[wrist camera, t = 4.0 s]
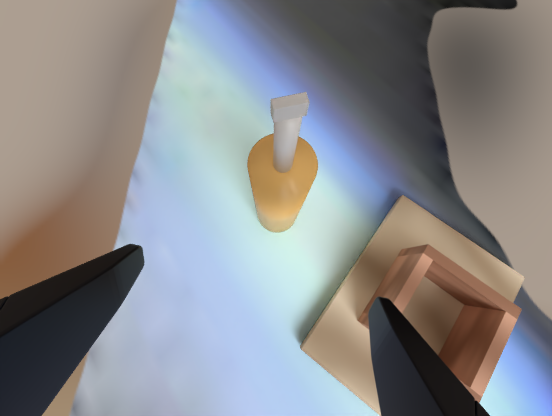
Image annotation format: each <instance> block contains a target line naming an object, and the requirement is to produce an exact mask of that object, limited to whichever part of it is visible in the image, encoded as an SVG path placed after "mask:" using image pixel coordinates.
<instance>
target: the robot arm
mask: <svg viewBox="0 0 552 416" xmlns="http://www.w3.org/2000/svg"><path fill="white" fill-rule="evenodd" d="M143 266H144V256H143V249H142V247H141V246H140V245H135V244H128V245H126V246H123V247H121V248H119V249H116V250H114V251H112V252H110V253H107V254H105V255H103V256H100V257H98V258H96V259H93V260H91V261H88V262H86V263H84V264H81V265H79V266H77V267H75V268H72V269H70V270H67V271H65V272H63V273H60V274H58V275H56V276H54V277H51V278H49V279H47V280H44V281H42V282H40V283H37V284H35V285H32V286H30V287H28V288H25V289H23V290H21V291H18V292H16V293H14V294H12V295H10V296H9V297H4V298H2V299H0V416H42V414H43V413H44V412H45V410H46V409H47V408H48V406H49V405H50V403H51V402H52V401H53V399H54V398H55V396H56V395H57V394H58V392H59V391H60V389H61V388H62V387H63V385H64V384H65V383H66V381H67V380H68V378H69V377H70V376H71V374H72V373H73V371H74V370H75V369H76V367H77V366H78V364H79V363H80V362H81V360H82V359H83V358H84V356H85V355H86V353H87V352H88V351H89V349H90V348H91V346H92V345H93V344H94V342H95V341H96V339H97V338H98V337H99V335H100V334H101V332H102V331H103V330H104V328H105V327H106V326H107V324H108V323H109V321H110V320H111V319H112V317H113V316H114V314H115V313H116V312H117V310H118V309H119V307H120V306H121V304H122V303H123V301H124V300H125V298H126V296H127V295H128V293H129V291H130V289H131V288H132V286H133V284H134V282H135V281H136V279H137V277H138V275H139V274H140V272H141V270H142V269H143ZM368 320H369V335H370V349H371V360H372V366H373V372H374V378H375V383H376V389H377V395H378V400H379V406H380V412H381V416H490V415H489V414H488V413H487V412H486V410H485V409H484V408H483V407H482V406H481V405H480V403H479V402H478V401H476V400H475V398H474V397H473V395H472V394H471V393H470V392H469V391H468V390H467V388H466V387H465V386H464V385H463V384H462V383H461V381H460V380H459V379H458V378H457V377H456V376H455V375H454V373H453V372H452V371H451V370H450V369H449V368H448V366H447V365H446V364H445V363H444V362H443V361H442V359H441V358H440V357H439V356H438V355H437V354H436V352H435V351H434V350H433V349H432V348H431V347H430V345H429V344H428V343H427V342H426V341H425V340H424V338H423V337H422V336H421V335H420V334H419V333H418V331H417V330H416V329H415V328H414V327H413V326H412V324H411V323H410V322H409V321H408V320H407V319H406V317H405V316H404V315H403V314H402V313H401V312H400V311H399V309H398V308H397V307H396V306H395V305H394V304H393V302H392V301H391V300H390V299H388V298H385V297H380V296H378V297H376V299H375V300H374V302H373V304H372V306H371V308H370V309H369V313H368Z"/></svg>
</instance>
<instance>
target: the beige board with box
mask: <svg viewBox="0 0 552 416" xmlns="http://www.w3.org/2000/svg"><path fill="white" fill-rule="evenodd" d="M523 280H524V277H523V276H522V275H521V274H519V273H518V272H516V271H515V270H513V269H512V268H510V267H509V266H507V265H506V264H504V263H503V262H501V261H500V260H498V259H497V258H495V257H494V256H492V255H491V254H489V253H488V252H486V251H485V250H484V249H482V248H481V247H479V246H478V245H476V244H475V243H473V242H472V241H470V240H469V239H467V238H466V237H464V236H463V235H461V234H460V233H458V232H457V231H455V230H454V229H452V228H451V227H450V226H448V225H447V224H445V223H444V222H442V221H441V220H439V219H438V218H436V217H435V216H433V215H432V214H430V213H429V212H427V211H426V210H424V209H423V208H421V207H420V206H418V205H417V204H416V203H414V202H413V201H411V200H410V199H408V198H407V197H405V196H404V195H402V196H400V197H399V198H398V199H397V201H396V202H395V204H394V205H393V207H392V208H391V210H390V211H389V213H388V214H387V216H386V217H385V219H384V220H383V222H382V223H381V225H380V226H379V228H378V229H377V231H376V232H375V234H374V235H373V237H372V238H371V240H370V241H369V243H368V244H367V246H366V247H365V249H364V250H363V252H362V253H361V255H360V256H359V258H358V259H357V261H356V262H355V264H354V265H353V267H352V269H351V270H350V272H349V273H348V275H347V276H346V278H345V279H344V281H343V282H342V284H341V285H340V287H339V288H338V290H337V291H336V293H335V294H334V296H333V297H332V299H331V300H330V302H329V303H328V305H327V306H326V308H325V309H324V311H323V312H322V314H321V315H320V317H319V318H318V320H317V321H316V323H315V324H314V326H313V327H312V329H311V330H310V332H309V333H308V335H307V336H306V338H305V339H304V341H303V342H302V344H301V345H300V348H301V350H302V351H304V352H305V353H306V354H307V355H308V356H310V357H311V358H312V359H313V360H314V361H316V362H317V363H318V364H319V365H320V366H322V367H323V368H324V369H325V370H326V371H328V372H329V373H330V374H331V375H332V376H334V377H335V378H336V379H337V380H338V381H339V382H341V383H342V384H343V385H344V386H345V387H347V388H348V389H349V390H350V391H351V392H353V393H354V394H355V395H356V396H357V397H359V398H360V399H361V400H362V401H363V402H365V403H366V404H367V405H368V406H369V407H371V408H372V409H373V410H374V411H375V412H377V413H378V414H379V415H380V416H381V412H380V406H379V400H378V395H377V389H376V383H375V378H374V372H373V366H372V360H371V349H370V335H369V320H368V313H369V309H370V308H371V306H372V304H373V302H374V300H375V299H376V297H378V296H380V297H385V298H388V299H390V300H391V301H392V302H393V304H394V305H395V306H396V307H397V308H398V309H399V311H400V312H401V313H402V314H403V315H404V316H405V317H406V319H407V320H408V321H409V322H410V323H411V324H412V326H413V327H414V328H415V329H416V330H417V331H418V333H419V334H420V335H421V336H422V337H423V338H424V340H425V341H426V342H427V343H428V344H429V345H430V347H431V348H432V349H433V350H434V351H435V352H436V354H437V355H438V356H439V357H440V358H441V359H442V361H443V362H444V363H445V364H446V365H447V366H448V368H449V369H450V370H451V371H452V372H453V373H454V375H455V376H456V377H457V378H458V379H459V380H460V381H461V383H462V384H463V385H464V386H465V387H466V388H467V390H468V391H469V392H470V393H471V394H472V395H473V397H474V398H475V400H476V401H478V402H480V400H481V398H482V396H483V393H484V391H485V389H486V387H487V385H488V382H489V380H490V378H491V376H492V374H493V371H494V369H495V367H496V365H497V363H498V360H499V358H500V356H501V354H502V352H503V349H504V347H505V345H506V343H507V341H508V338H509V336H510V334H511V332H512V330H513V327H514V325H515V323H516V321H517V319H518V316H519V314H520V312H521V310H522V309H521V308H519V307H518V306H516V305H515V304H514V303H513V302H514V300H515V298H516V295H517V293H518V291H519V289H520V287H521V285H522V283H523Z"/></svg>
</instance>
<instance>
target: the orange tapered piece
mask: <svg viewBox="0 0 552 416" xmlns="http://www.w3.org/2000/svg"><path fill="white" fill-rule="evenodd" d="M308 106H309V99H308V97H307V94H306V92H304V93H299V94H294V95H289V96H284V97H279V98H274V99H271V116H272V119H273V123H274V134H270V135H268V136H265V137H264V138H262V139H261V140H259V141H258V142H257V143H256V144H255V145H254V146H253V148H252V150H251V151H250V154H249V157H248V172H249V177H250V182H251V186H252V191H253V196H254V200H255V205H256V210H257V215H258V219H259V221H260V223H261V225H262V226H263V227H264V228H265V229H267V230H269V231H271V232H283V231H286V230H288V229H289V228H290V227H291V226H292V225H293V224H294V222H295V220H296V218H297V216H298V213H299V211H300V209H301V207H302V205H303V203H304V201H305V199H306V196H307V194H308V192H309V190H310V188H311V186H312V184H313V181H314V179H315V177H316V174H317V170H318V161H317V157H316V154H315V152H314V150H313V148H312V147H311V146H310V144H309V143H308V142H306V141H305V140H304V139H302V138H301V137H299V131H300V126H301V121H302V116H306V115H307V110H308Z"/></svg>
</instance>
